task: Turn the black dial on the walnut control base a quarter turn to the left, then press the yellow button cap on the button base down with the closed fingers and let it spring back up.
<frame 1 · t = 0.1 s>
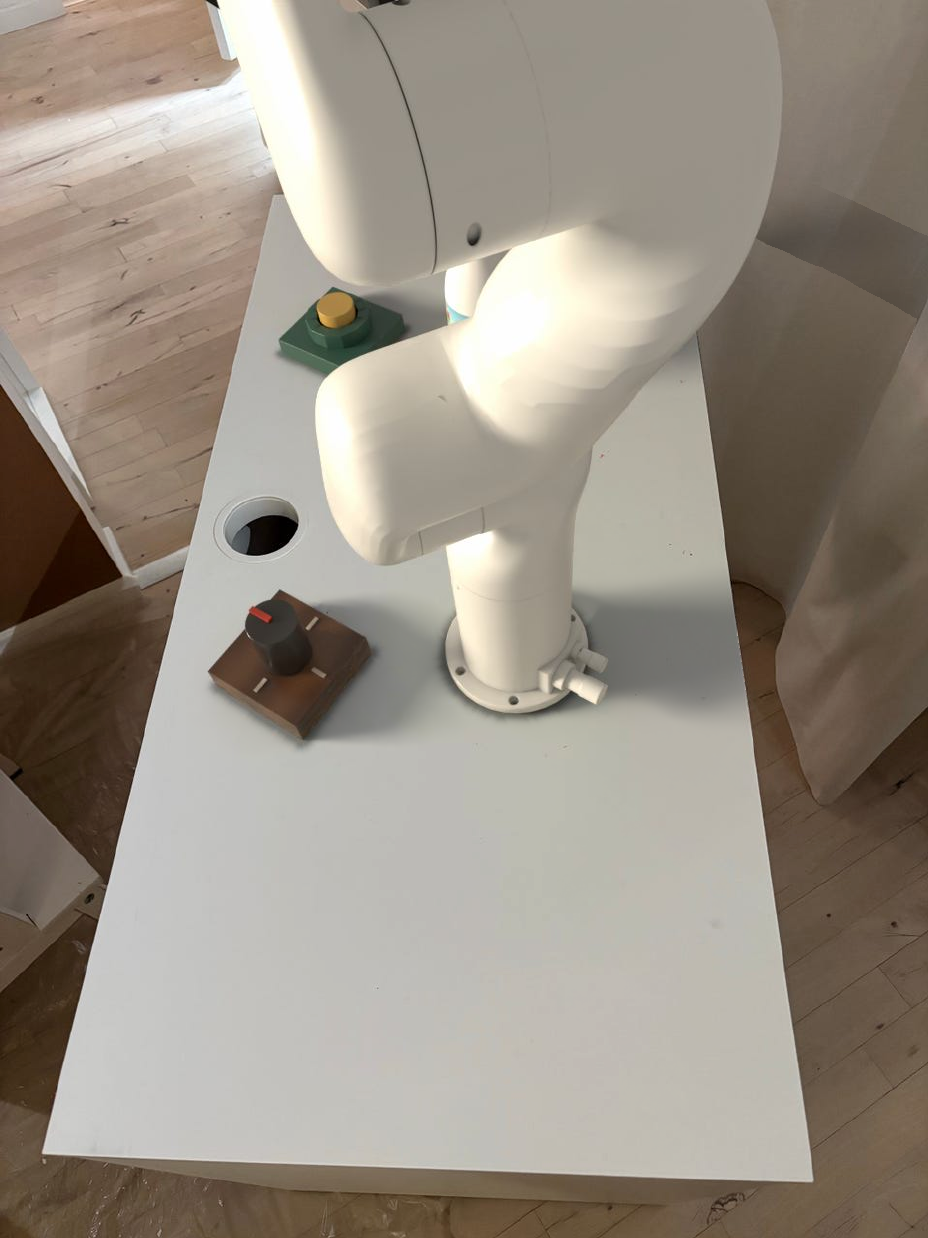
hand: (321, 48, 70), 37 cm above the table, tool pointing down, fingers open, 9 cm apart
dial: (278, 637, 80), point 6 cm above the table, hinge at 0.0°
dial base: (295, 670, 85), on the table
milk bottle: (489, 373, 103), on the table
button base: (344, 342, 107), on the table
yellow button cap: (336, 310, 104), point 4 cm above the table, slide at 0.1 cm
syrup box: (516, 295, 109), on the table
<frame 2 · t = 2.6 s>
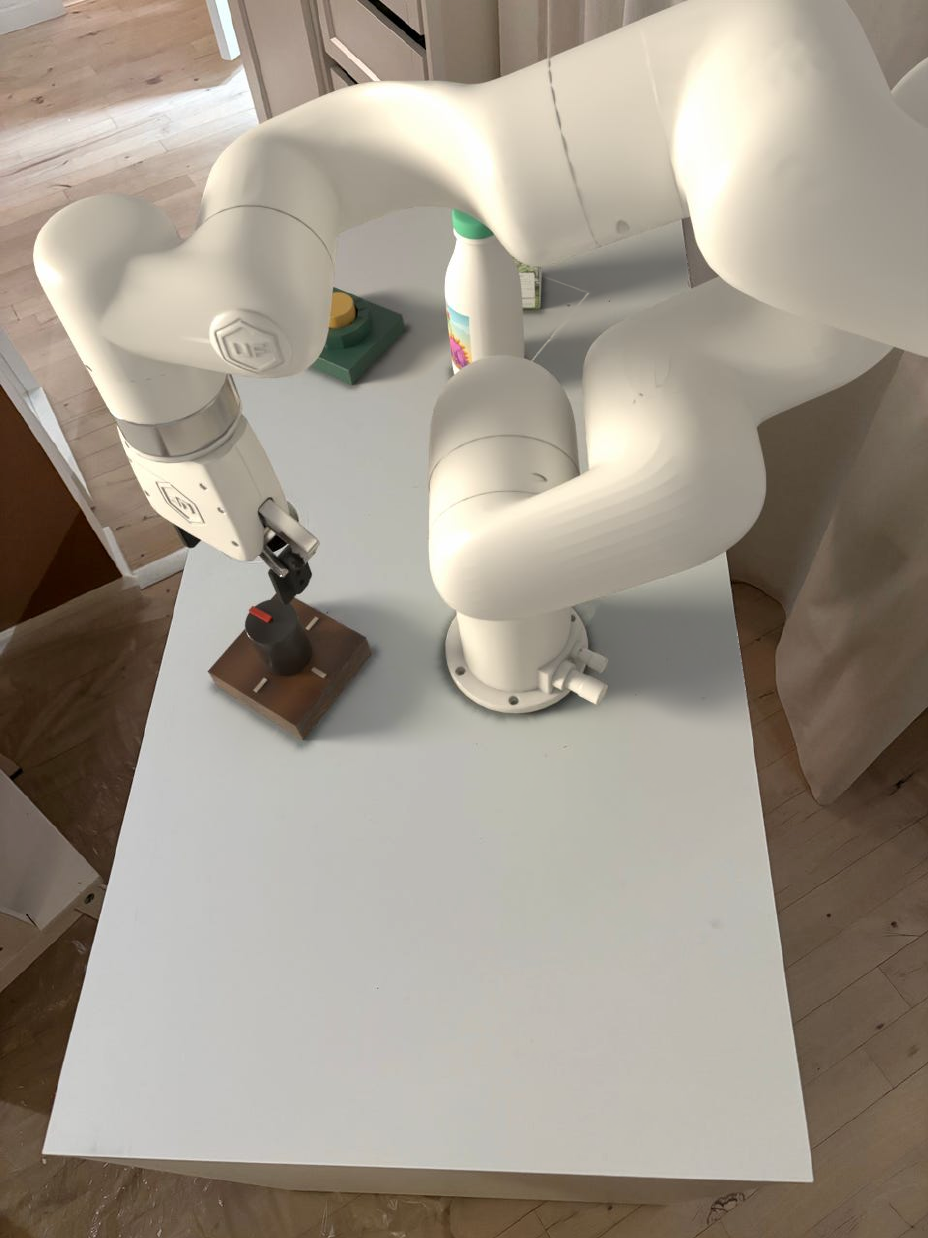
hand: (248, 561, 73), 16 cm above the table, tool pointing down, fingers open, 9 cm apart
nothing on the table moved.
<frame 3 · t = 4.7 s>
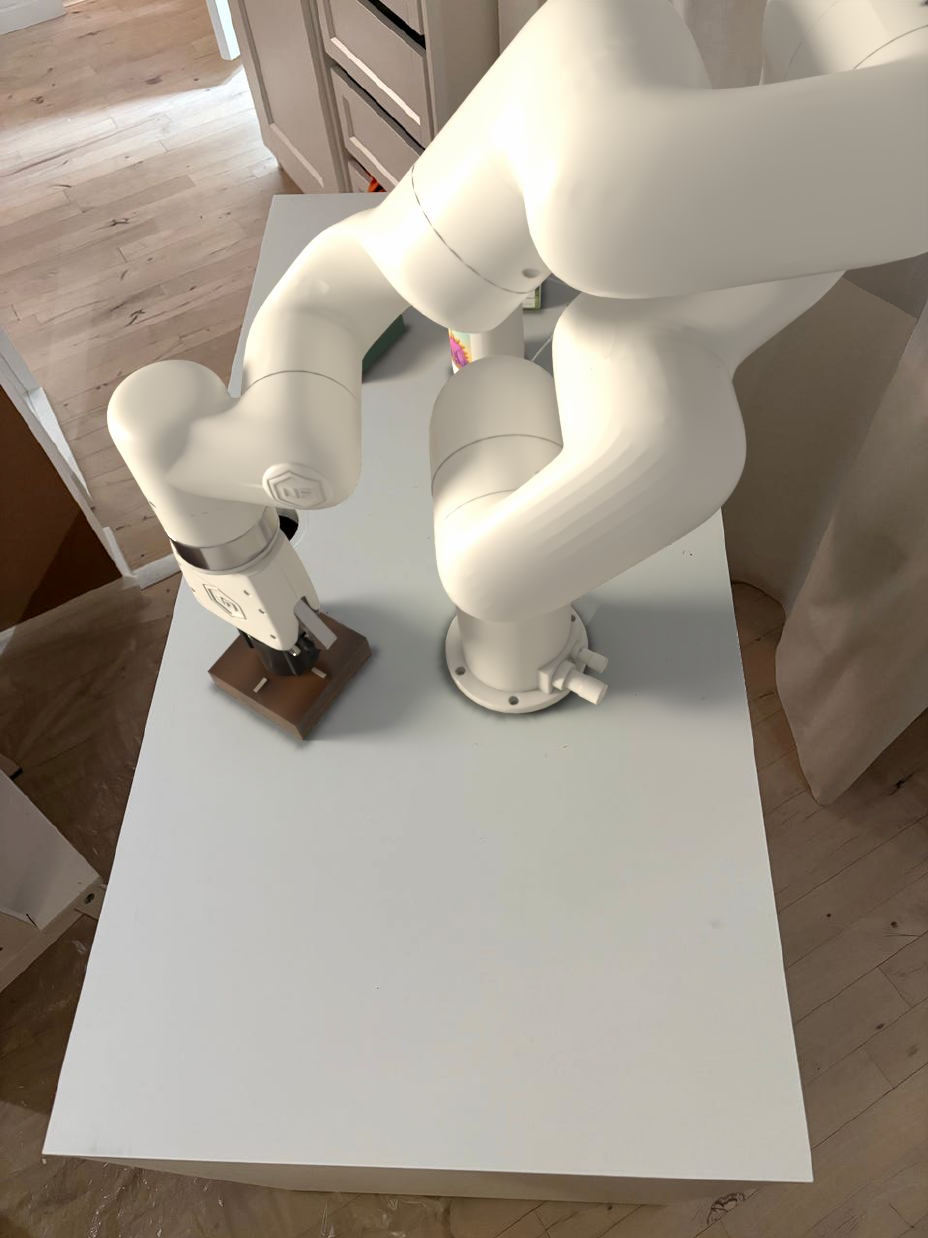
hand: (283, 647, 82), 4 cm above the table, tool pointing down, fingers closed on dial, 4 cm apart
dial: (278, 637, 80), point 6 cm above the table, hinge at -0.1°, touching gripper
everything else where it was.
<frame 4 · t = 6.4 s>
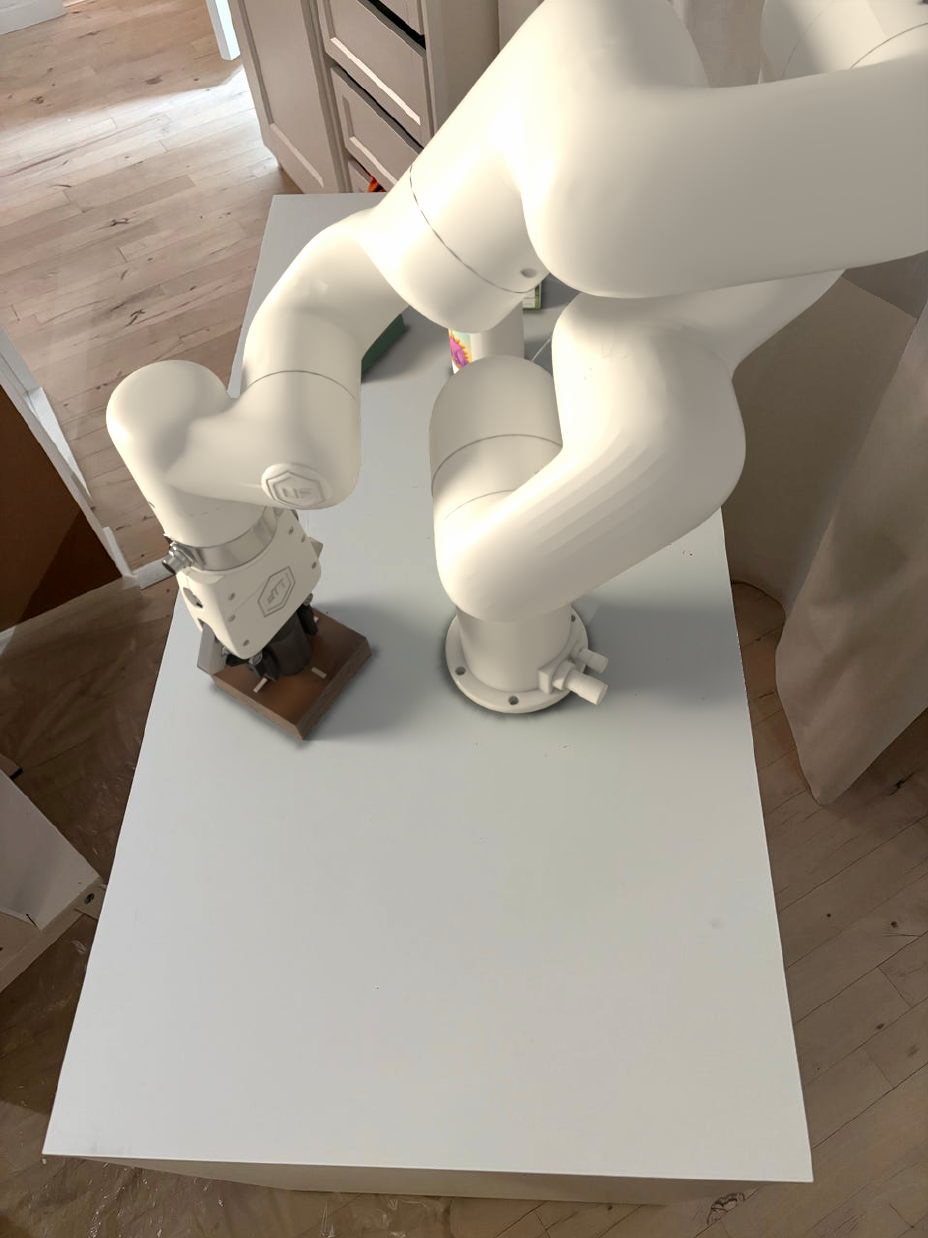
hand: (283, 647, 82), 4 cm above the table, tool pointing down, fingers closed on dial, 4 cm apart
dial: (278, 637, 80), point 6 cm above the table, hinge at 90.2°, touching gripper
everything else where it was.
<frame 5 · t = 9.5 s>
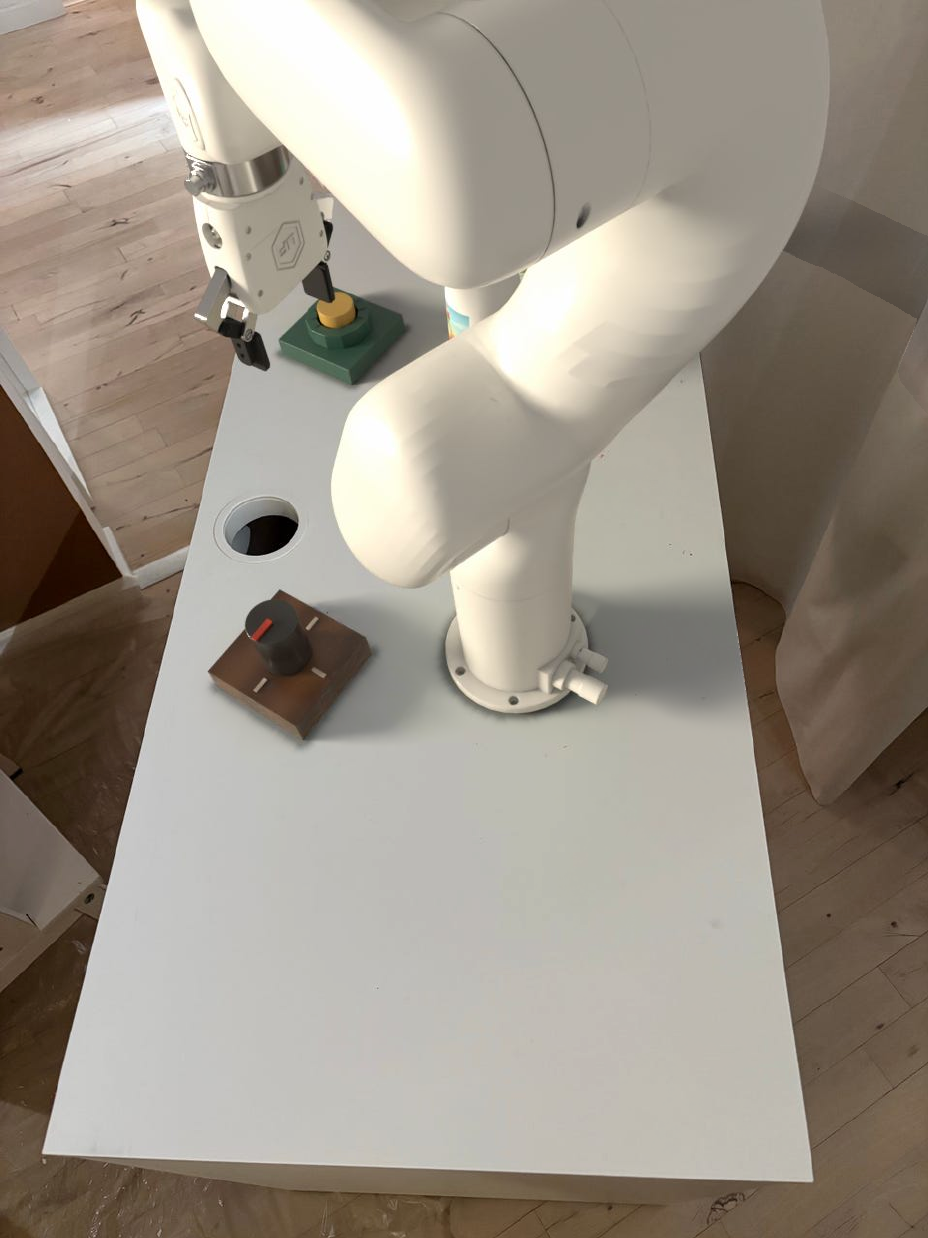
hand: (288, 329, 86), 16 cm above the table, tool pointing down, fingers open, 9 cm apart
dial: (278, 637, 80), point 6 cm above the table, hinge at 90.5°
everything else where it was.
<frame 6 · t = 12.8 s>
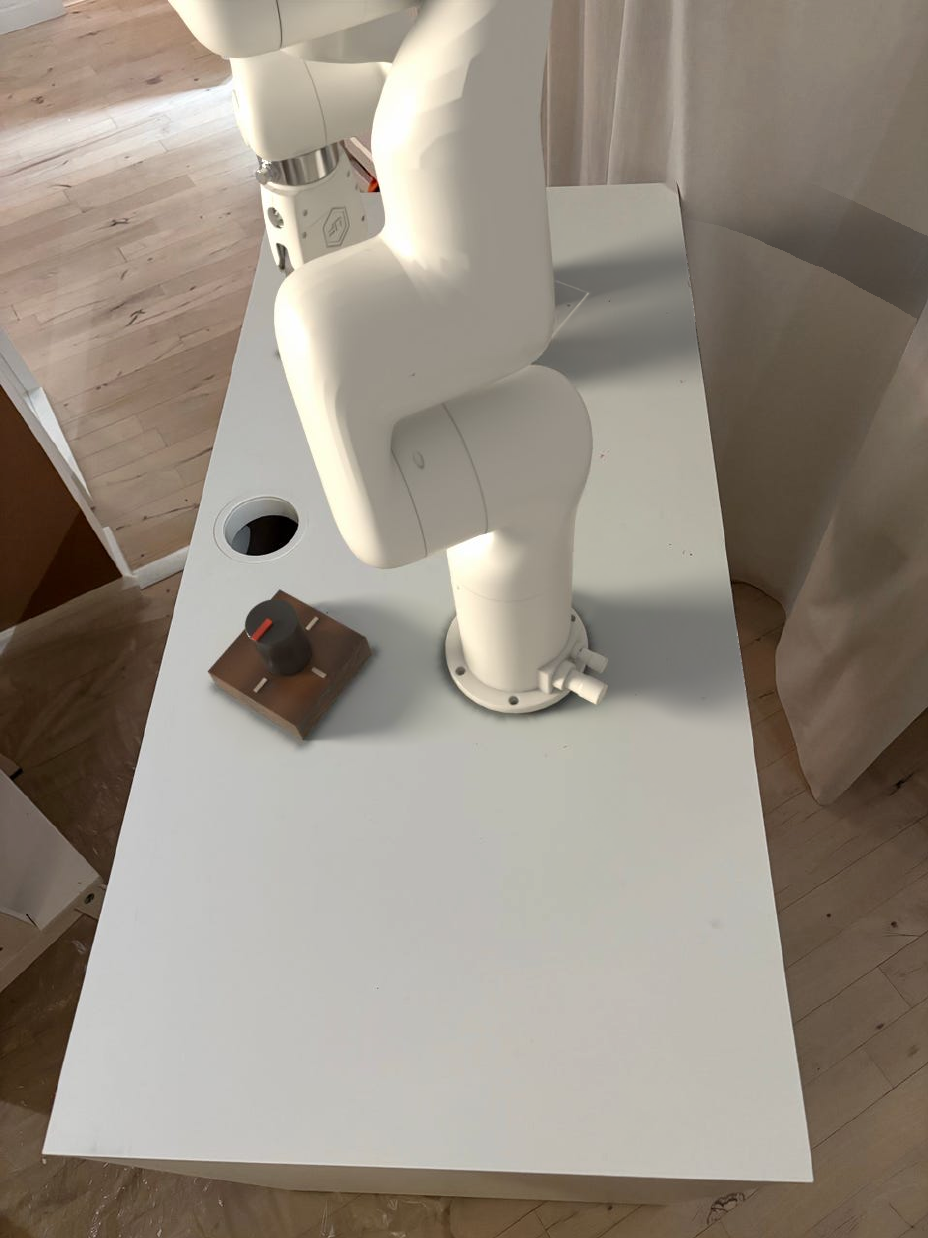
hand: (335, 309, 104), 5 cm above the table, tool pointing down, fingers closed
yellow button cap: (337, 316, 104), point 4 cm above the table, slide at -0.7 cm, touching gripper
everything else where it was.
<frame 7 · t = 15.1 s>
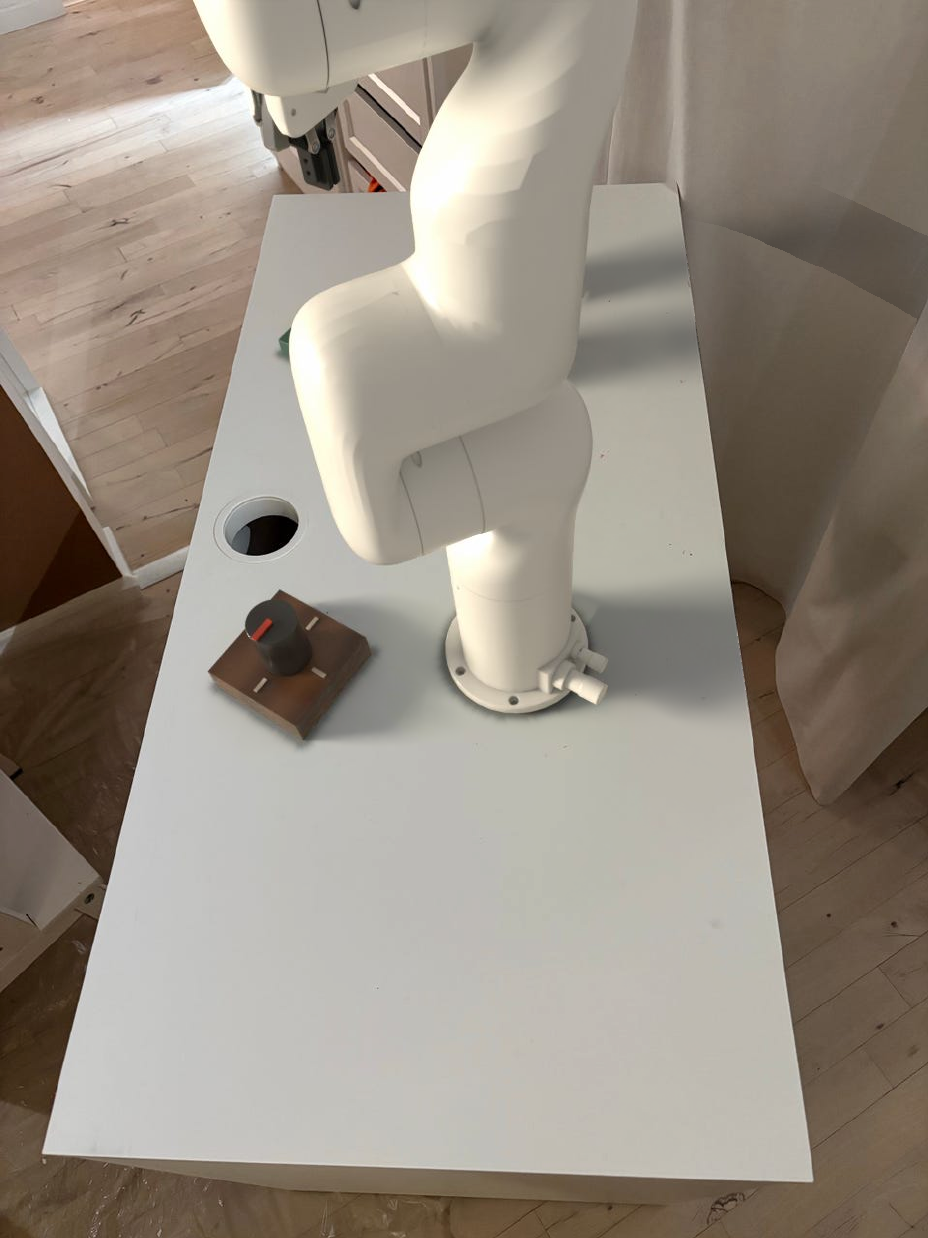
hand: (322, 182, 90), 20 cm above the table, tool pointing down, fingers closed
yellow button cap: (336, 310, 104), point 4 cm above the table, slide at 0.1 cm
everything else where it was.
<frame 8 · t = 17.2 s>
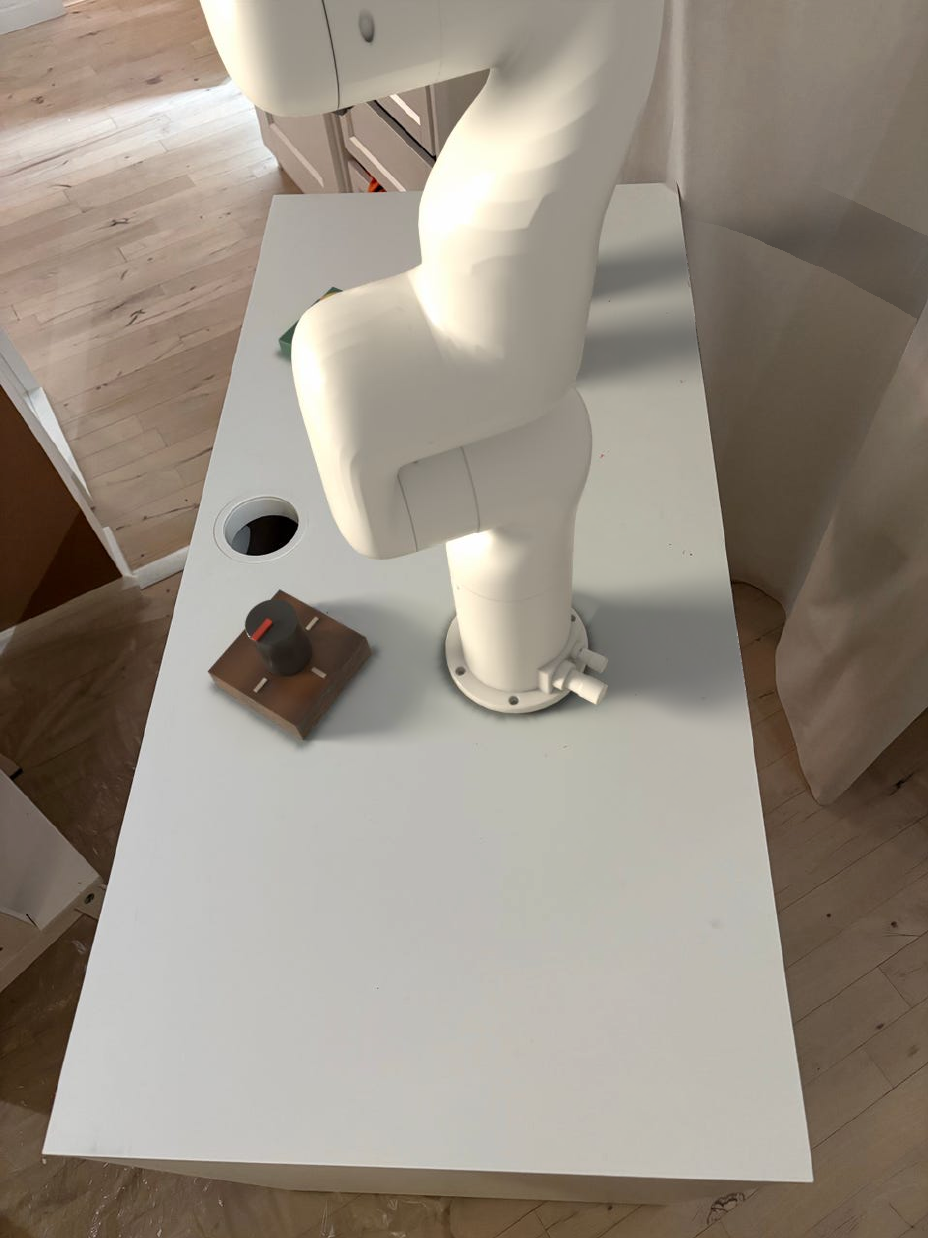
hand: (335, 107, 84), 27 cm above the table, tool pointing down, fingers closed
nothing on the table moved.
at the end: dial at +90° (first picture: +0°); yellow button cap pushed in 1.1 cm at the most during the clip, back to where it started at the end; yellow button cap slide at 0.1 cm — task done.
